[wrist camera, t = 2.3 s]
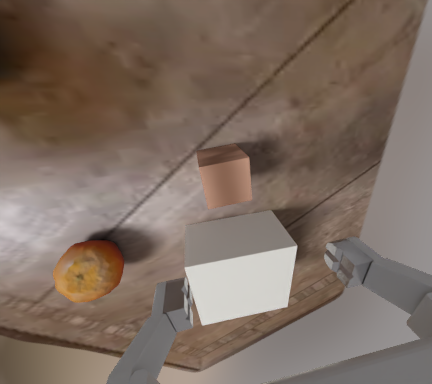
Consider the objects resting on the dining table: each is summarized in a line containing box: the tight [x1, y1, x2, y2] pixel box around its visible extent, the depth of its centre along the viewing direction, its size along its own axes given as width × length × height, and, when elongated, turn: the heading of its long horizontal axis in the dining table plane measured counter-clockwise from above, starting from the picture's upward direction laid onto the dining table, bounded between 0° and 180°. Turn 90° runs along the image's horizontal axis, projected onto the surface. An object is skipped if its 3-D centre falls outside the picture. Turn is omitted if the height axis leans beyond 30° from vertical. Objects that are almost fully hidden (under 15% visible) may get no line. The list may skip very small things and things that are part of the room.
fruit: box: [53, 240, 124, 302], centre depth 25 cm, size 8×8×8 cm
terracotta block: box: [197, 143, 252, 209], centre depth 21 cm, size 5×5×6 cm
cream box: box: [185, 210, 297, 325], centre depth 28 cm, size 14×14×8 cm
